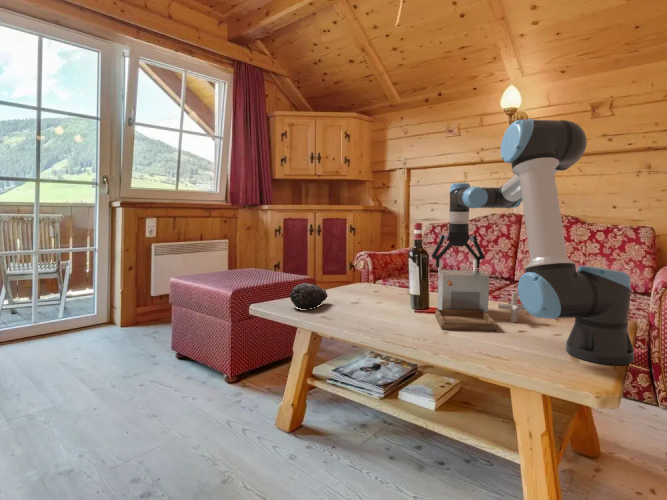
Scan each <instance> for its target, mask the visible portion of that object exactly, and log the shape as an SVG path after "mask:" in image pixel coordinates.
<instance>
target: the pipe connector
mask: <svg viewBox="0 0 667 500" xmlns="http://www.w3.org/2000/svg"><path fill="white" fill-rule="evenodd" d="M518 297H519V294H518V291H517V292H515V291H511V301H509V302H508V303H500V302H499V303H498V304H497V305H498V307H497V308H498V309H500V310H501V309H502V310H510V322H512V323H517V319H518V318H517V316H518V315H517V314H520V312H521V311H527V310H526V309H525V308H524V307H523V305H522V303H518Z"/></svg>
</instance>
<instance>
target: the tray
mask: <svg viewBox="0 0 667 500" xmlns="http://www.w3.org/2000/svg"><path fill="white" fill-rule="evenodd" d="M434 313H435V315H434V316H435V319H436V321H437V323H438V325H439V327H440V329H441V330H443V331H447V330H448V331H470V332H495V333H496V332H498V323H497V322H496V321H495V320H494V319H493V318H492V317H491V316H490V315H489V313H488V314H487V313H486V312H485V311H474V310H441V309H438V308H437V309H435V310H434Z"/></svg>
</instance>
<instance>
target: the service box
mask: <svg viewBox="0 0 667 500" xmlns="http://www.w3.org/2000/svg"><path fill="white" fill-rule="evenodd" d="M437 280H438V281H437V284H438V285H437V286H438V287H437V289H438V290H437V309H441V310H474V311H485V312H486V313H487V314H488V315H489V295H490V294H489V293H490V292H489V290H490V275H489V274H487V273H486V272H484V271H482V270H477V271H473V270H464V269H463V270H459V269H458V270H457V269H453V270H452V269H441V270H439V275H438V279H437Z"/></svg>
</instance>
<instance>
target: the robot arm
mask: <svg viewBox="0 0 667 500" xmlns="http://www.w3.org/2000/svg"><path fill="white" fill-rule="evenodd" d="M587 142H588V140H587V135H586V132H585V131H584V129H583V128H582V127H581V126H580V125H579V124H577V123H576V122H573V121H571V120H564V119H560V120H557V119H556V120H554V119H533V118H528V119H516V120H515V121H513V122H512V123H511V124H510V125H508V127H507V129H506V130H505V132H504V134H503V137H502V139H501V144H500V156H501V159H502V161H503V162H504V163H507V164H511V171H512V174H513V176H512V177H511V178H510V179H508V180H507V181H506V182H505V183H503V185H501V186H500V187H484V186H483V187H480V186H471V185H470V183H468V182H467V183H466V182H463V183H462V182H457V183H455V182H454V183H452V184H450V186H449V187H450V189H449V215H448V216H449V218H448V222H450V223H449V224H448V235H443V234H440V237H439V241H438V242H437V244H436V246H435V248H434V250H433V251H432V253H431V258H432V259H435V267H436V268H438V269H437V271H438V273H437V275H438V276H439V270H442V259H441V258H442V257H443V256H444V255H445V254H446V253H447V251H449V249H450V248H451V247H465V249H467V250H468V252H469V254H470V255H472V256H473V258H474V259H473V261H472V262H473V263H472V265H473V266H472V269H473V270H472V271H478V269H480V263H481V262H480V261H481V260H484V259H485V258H486V257H485V255H484V253H483V251H482V248H481V246H480V244H479V241H478V236H477V235H476V234H473V235H469V231H470V230H469V227H470V224H469V223H468V222H470V209H513V208H514V209H516V208H519V206H521V203H522V207H523V215H524V221H525V222H524V223H525V229H526V230H525V231H526V238H527V244H528V251H529V259H530V260H529V262H528V264H527V265H526V266H525V267H524V270H525V271H524V272H525V273H524V274H522V275H521V276H520V278H519V279H518V284H517V293H518V297H519V300H520V304H522V305H523V307H524V308H525V309H526V310H525V311H527V313H529V314H530V315H531V316H532V317H534V318H538V319H548V320H554V319H570V318H574V324H573V326H572V329H571V330H570V333H569V335H568V337H567V338H566V339H567V340H566V343H565V352H566V353H568V354H569V355H570V356H572V357H575V358H577V359H580V360H583V361H587V362H591V363H595V364H600V365H601V364H603V365H610V364H611V365H614V366H624V365H631V364H633V363H634V362H635V361H634V360H635V351H634V346H633V344H632V340H631V337H630V334H629V330H628V326H629V324H628V323H629V313H630V302H631V291H632V287H631V276H630V275H629V274H628V273H627V272H625V271H621V270H614V269H609V268H603V267H595V266H588V265H579V266H578V268H577V267H576V263H575V262H574V261H573V260H572V259H570V258H569V257H568V255H567V248H566V247H567V246H566V240H565V234H564V227H563V222H562V215H561V214H562V213H561V208H560V207H561V206H560V202H559V194H558V187H557V182H556V181H557V180H556V174H557V173H558V172H563V171H567V170H569V168H571V167H572V166H574V165H575V164H576V163H578V162H579V160H580V159H581V158H582V157H583V155H584V154H585V151H586V150H587V149H586V148H587V146H588V145H587ZM446 240H448V242H447V244H446V245H445V247H444V248H442V249H441V251H440V252H439V250H440V248H441V247H442V245H443V243H444V242H445V241H446ZM469 240H470V241H472V244H473V245H474V248H475V249H476V251H477V253H478V254H477V253H476V252H475V250H474V249H473V248H472V247H471V246H470V244H469V243H468V241H469ZM576 268H577V269H576ZM611 365H610V366H611Z"/></svg>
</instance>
